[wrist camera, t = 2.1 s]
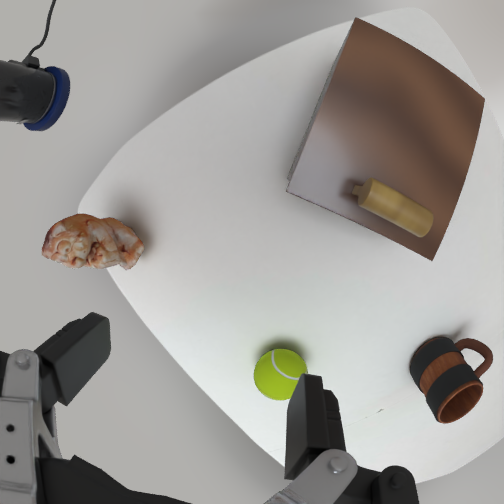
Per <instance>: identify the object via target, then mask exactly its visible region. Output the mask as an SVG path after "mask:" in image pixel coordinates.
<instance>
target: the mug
mask: <svg viewBox="0 0 504 504" xmlns="http://www.w3.org/2000/svg"><path fill="white" fill-rule="evenodd" d="M464 348H468V349H472V350H474V351H476V352H478V353H480V354H481V355H482V356H483V357H484V358H485V361H484V362H483V363H482V364H481V365H480V366H479V367H477V368H476V370H475V371H473V369H472V368H471V366H470V365H468V364H467V363H466V361H465V360H464V356H463V355H462V353H461V350H463V349H464ZM492 361H493V354H492V351H491V350H490V349H489V348H488V347H487V346H486V345H485V344H483V343H482V342H480V341H478V340H475V339H470V338H466V339H462V340H460V341H458V342H457V343H455V344H454V343H453V341H452V340H450V339H448V338H435V339H432V340H430V341H428V342H426V343H425V344H424V345H422V346H421V347H420V348H419V349H418V351H417V352H416V353H415V355H414V357H413V359H412V362H411V366H410V373H411V376H412V378H413V380H414V382H415V383H416V385H417V386H418V388H419V389H420V391H421V392H422V393H424V395H425V397H426V402H427V404H428V405H429V407H430V409H431V411H432V413H433V414H434V416H435V418H436V420H437V421H438V422H440V423H451V422H454V421H456V420H458V419H460V418H461V417H463V416H464V415H466V414H467V413H468V412H469V411H470V410H471V409H472V408H473V407H474V406H475V405H476V404H477V403H478V401H479V400H480V398H481V396H482V393H483V384H482V382H481V381H480V380H479V378H480V376H481V375H482V374H483V373H485V372H486V371H487V370H488V369H489V367H490V366H491V364H492Z"/></svg>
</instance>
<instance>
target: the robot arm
mask: <svg viewBox="0 0 504 504" xmlns="http://www.w3.org/2000/svg"><path fill="white" fill-rule="evenodd" d="M55 2H56V0H53V2H52V5H51V7H50V10H49V14H48V18H47V24H46V30H45V34H44V37H43V39H42V41H41V43H40V44H39V45H37V46H35V47H34V48H33V49H32V50H31V51H30V53H29V54H28V55H27V57H26V58H25V59H24V60H23V61H22V62H18V61H14V60H9V61H8V62H6V61H2V60H0V121H12V122H19V123H17V124H21V123H24V122H27V123H31V124H35V123H38V122H40V121H41V120H42V119H43V118H44V117H45V116H46V115H47V114H48V112H49V110H50V109H51V107H52V105H53V102H54V100H55V97H56V92H57V80H56V77H55V75H54V74H52V73H50V72H47V70H46V69H43V68H40V67H39V66H40V64H39V59H38V58H36V57H33V56H31V55H32V53H33V52H34V51H35V50H36V49H38V48H40V47H41V46H42V45H43V44H44V42H45V40H46V38H47V35H48V31H49V25H50V19H51V15H52V11H53V8H54V5H55ZM110 351H111V341H110V323H109V319H108V318H107V317H104V316H102V315H99V314H97V313H94V312H91V313H89V314H88V315H87V316H85V317H84V318H83V319H77V320H75V321H72V322H69V323H68V324H67V325H66V326H64V327H63V328H62V330H59V331H58V332H56V334H55V335H53V336H52V337H50V338H49V339H48V340H47V341H45V342H44V343H43V344H42V345H40V346H39V347H38V348H37V349H36V350H34V351H30V350H26V349H24V350H23V349H22V350H18V351H15V352H13V353H12V354H8V353H5V352H2V351H0V504H191V503H187V502H184V501H180V500H177V499H174V498H170V497H167V496H162V495H155V494H149V493H142V492H137V491H132V490H129V489H127V488H126V487H124V486H123V485H121V484H120V483H119V482H117V481H116V480H114V479H113V478H112V477H110V476H109V475H108V474H107V473H105V472H104V471H103V470H102V469H100V468H98V467H96V466H94V465H92V464H90V463H88V462H86V461H85V460H82V459H81V458H79V457H77V456H76V455H74V456H73V457H72V459H71V460H66V459H63V458H62V455H61V453H60V449H59V446H58V439H57V429H56V416H55V407H54V404H55V403H56V402H57V401H58V402H60V403H62V404H63V405H65V406H67V405H68V404H69V403H70V402H71V401H72V400H73V398H74V397H75V396H76V395H77V394H78V392H79V391H80V390H81V389H82V388H83V387H84V386H85V384H86V383H87V382H88V381H89V379H91V377H92V376H93V375H94V374H95V373H96V372H97V371H98V369H99V368H100V367H101V366H102V365H103V364H104V363H105V361H106V360H107V359H108V357H109V355H110ZM284 479H289V480H293V482H291V483H290V484H289V485H288V486H287V487H286V488H285V489H283V490H282V491H279V492H278V493H276V494H275V495H274V496H273V497H271V498H270V499H269V500H268V501H267V502H265V503H264V504H419V500H418V495H417V490H416V485H415V480H414V477H413V475H412V474H411V472H410V471H409V470H407V469H406V468H404V467H401V466H389V467H387V468H385V469H384V470H383V471H382V472H378V471H374V470H370V469H366V468H363V467H360V466H358V465H357V463H356V461H355V459H354V458H353V457H352V456H351V455H350V454H349V453H347V452H346V447H345V440H344V434H343V428H342V422H341V416H340V412H339V404H338V400H337V398H336V397H335V395H334V394H333V392H332V391H331V390H324V389H323V383H322V377H321V376H317V375H311V374H305V373H302V374H301V376H300V378H299V380H298V383H297V385H296V387H295V390H294V392H293V394H292V396H291V399H290V401H289V405H288V409H287V429H286V456H285V477H284Z"/></svg>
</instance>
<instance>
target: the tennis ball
mask: <svg viewBox="0 0 504 504" xmlns="http://www.w3.org/2000/svg"><path fill="white" fill-rule="evenodd" d="M302 373H305V374H308V371H307V367H306V364H305V362H304V360H303V359H302V358H301V357H300V356H299V355H298V354H297V353H295V352H293V351H291V350H287V349H275V350H273V351H272V350H271V351H269V352H267V353H266V354H264V355H263V356H262V357H261V358H260V359H259V361H258V362H257V364H256V366H255V370H254V381H255V384H256V386H257V388H258V390H259V391H260V392H261V393H262V394H263V395H265V396H266V397H268V398H270V399H273V400H287V399H290V398H291V396H292V394H293V392H294V390H295V387H296V385H297V383H298V380H299V378H300V376H301V374H302Z"/></svg>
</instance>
